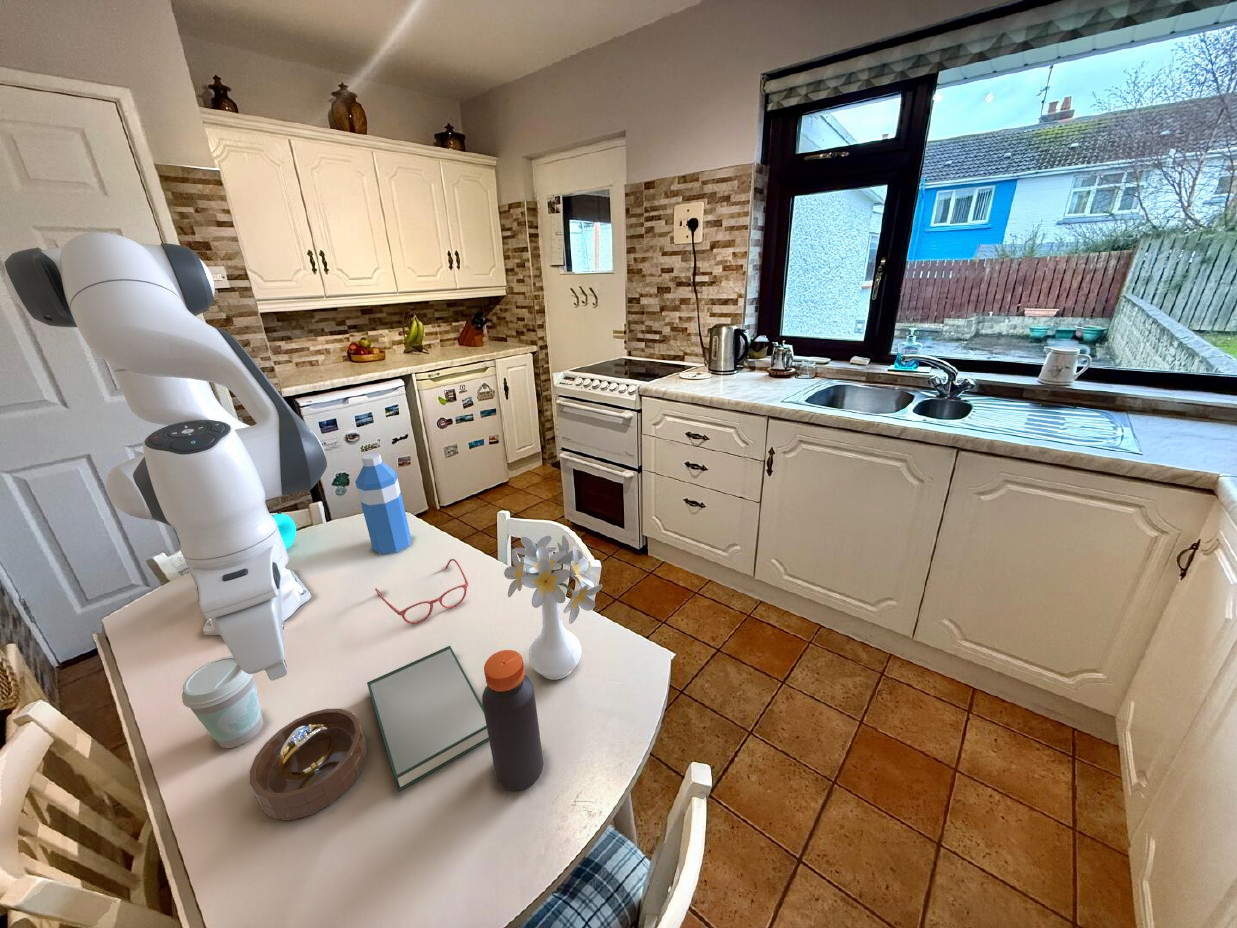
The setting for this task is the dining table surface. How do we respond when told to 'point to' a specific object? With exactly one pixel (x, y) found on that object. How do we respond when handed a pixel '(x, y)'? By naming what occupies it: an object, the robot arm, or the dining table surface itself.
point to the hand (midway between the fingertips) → (278, 651)
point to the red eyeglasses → (431, 600)
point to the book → (427, 715)
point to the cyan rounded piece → (286, 528)
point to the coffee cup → (224, 701)
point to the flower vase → (552, 601)
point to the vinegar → (512, 721)
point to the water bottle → (382, 505)
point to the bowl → (317, 788)
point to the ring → (299, 739)
